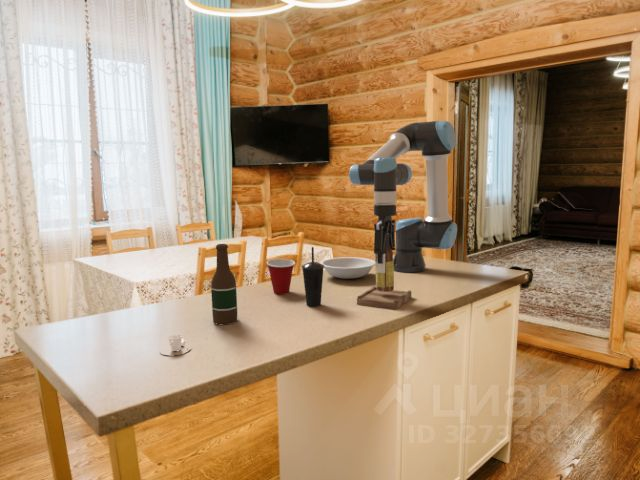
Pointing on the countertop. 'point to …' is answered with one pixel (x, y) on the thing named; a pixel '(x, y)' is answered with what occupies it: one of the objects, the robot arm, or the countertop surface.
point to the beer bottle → (223, 289)
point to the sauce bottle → (386, 270)
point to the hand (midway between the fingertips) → (384, 270)
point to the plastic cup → (280, 274)
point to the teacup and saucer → (176, 342)
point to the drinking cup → (313, 282)
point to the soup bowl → (348, 267)
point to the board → (383, 298)
